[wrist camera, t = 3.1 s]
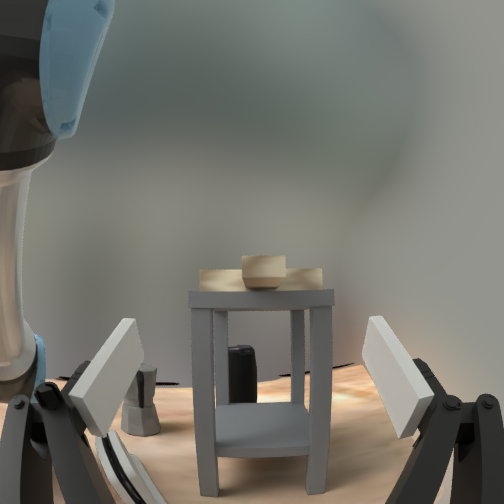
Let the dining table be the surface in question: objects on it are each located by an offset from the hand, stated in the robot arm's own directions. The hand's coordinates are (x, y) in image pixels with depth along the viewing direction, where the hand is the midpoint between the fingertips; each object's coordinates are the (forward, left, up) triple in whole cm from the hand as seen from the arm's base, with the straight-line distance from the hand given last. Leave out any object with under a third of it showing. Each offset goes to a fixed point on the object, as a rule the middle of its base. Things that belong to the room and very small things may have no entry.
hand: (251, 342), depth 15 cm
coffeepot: (-25, +42, -26) cm, 56 cm away
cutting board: (+1, +26, +4) cm, 26 cm away
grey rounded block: (-18, +19, -26) cm, 37 cm away
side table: (+1, +31, -26) cm, 41 cm away
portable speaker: (-4, +55, -26) cm, 61 cm away
